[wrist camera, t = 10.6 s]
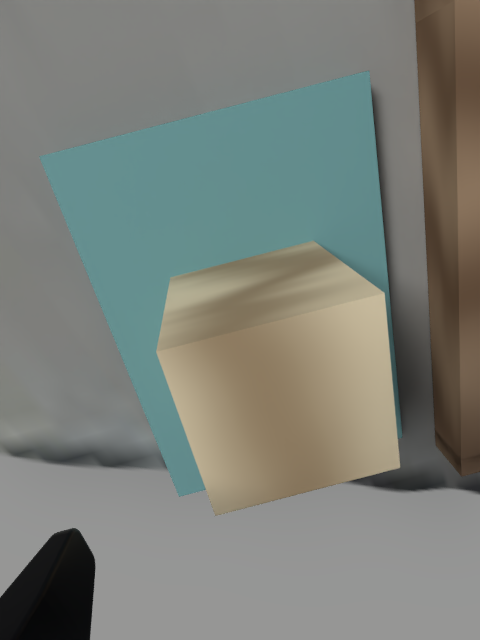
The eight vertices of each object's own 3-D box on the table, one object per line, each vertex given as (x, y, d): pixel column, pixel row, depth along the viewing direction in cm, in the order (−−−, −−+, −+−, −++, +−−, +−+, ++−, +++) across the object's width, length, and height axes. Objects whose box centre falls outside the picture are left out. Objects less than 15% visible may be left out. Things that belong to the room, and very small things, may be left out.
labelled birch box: (313, 240, 14) (384, 293, 8) (333, 370, 16) (400, 474, 11) (170, 277, 13) (156, 351, 8) (210, 402, 16) (218, 522, 11)
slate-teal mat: (50, 156, 13) (39, 156, 12) (356, 76, 13) (368, 70, 12) (179, 479, 18) (179, 496, 17) (391, 423, 18) (402, 437, 17)
